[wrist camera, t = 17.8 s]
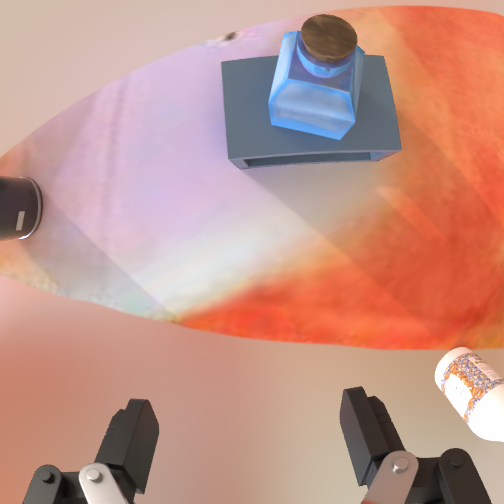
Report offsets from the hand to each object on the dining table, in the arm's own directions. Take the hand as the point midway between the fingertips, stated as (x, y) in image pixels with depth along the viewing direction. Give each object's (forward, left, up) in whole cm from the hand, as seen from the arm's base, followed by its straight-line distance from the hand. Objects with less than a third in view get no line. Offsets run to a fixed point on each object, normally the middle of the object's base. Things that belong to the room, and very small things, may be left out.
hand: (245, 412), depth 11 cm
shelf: (+6, +18, -25) cm, 31 cm away
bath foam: (+26, -15, -25) cm, 39 cm away
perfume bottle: (+6, +17, -17) cm, 25 cm away
